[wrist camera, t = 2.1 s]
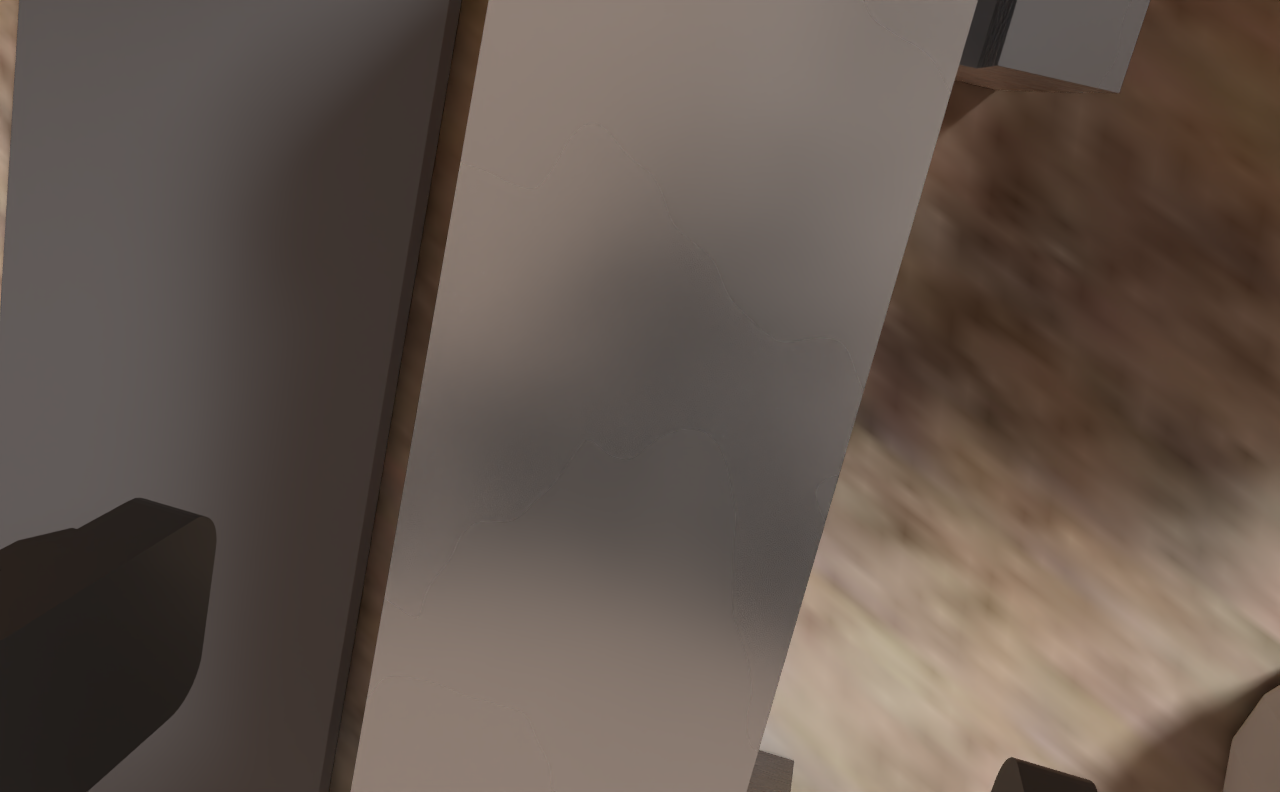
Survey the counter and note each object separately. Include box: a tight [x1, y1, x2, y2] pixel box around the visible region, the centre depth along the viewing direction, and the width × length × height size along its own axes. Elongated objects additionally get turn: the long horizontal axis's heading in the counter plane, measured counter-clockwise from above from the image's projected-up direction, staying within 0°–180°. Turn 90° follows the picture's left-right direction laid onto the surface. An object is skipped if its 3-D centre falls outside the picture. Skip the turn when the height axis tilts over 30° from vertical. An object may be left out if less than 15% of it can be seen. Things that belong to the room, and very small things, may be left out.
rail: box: [351, 0, 978, 792], centre depth 12 cm, size 22×4×4 cm, turn 167°
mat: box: [0, 0, 462, 792], centre depth 22 cm, size 24×8×1 cm, turn 167°
